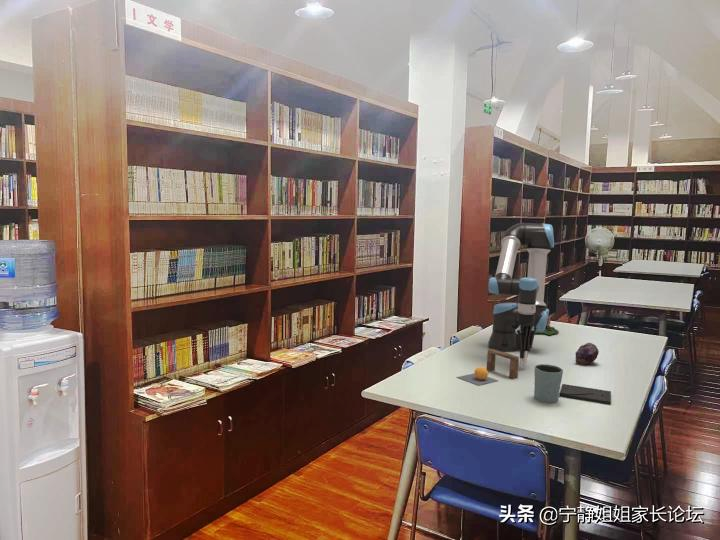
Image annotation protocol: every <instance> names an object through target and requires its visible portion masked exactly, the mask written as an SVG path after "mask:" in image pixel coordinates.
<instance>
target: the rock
mask: <svg viewBox="0 0 720 540" xmlns="http://www.w3.org/2000/svg"><path fill="white" fill-rule="evenodd" d="M599 352H600V351H599V349H598V347H597V346H596V344H594V343H593V342H586V343H585V344H582V345H580V346H579V347H578V349H577V350H576V352H575V364H578V365H581V366H585V365H592V364H593V363H594V362H595V361H596V359H598V356H599Z"/></svg>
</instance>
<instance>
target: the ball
mask: <svg viewBox="0 0 720 540" xmlns="http://www.w3.org/2000/svg"><path fill="white" fill-rule="evenodd" d="M473 374H475V377H476V378H477V379H479V380H484V379H486V378H487V377H489V372H488V370H487V367H484V366H478V367H476V369H474V373H473Z"/></svg>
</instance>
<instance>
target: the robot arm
mask: <svg viewBox="0 0 720 540" xmlns="http://www.w3.org/2000/svg"><path fill="white" fill-rule="evenodd" d="M500 241H501V242H500V245H501V250H500V254H499V259H498V262H497V268H496V271H495V276H494V277H493V276H492V277H490V278H489V279H488V292H489V293H490V294H495V295H506V296H508V295H510V296H516V297H517V296H518V300H517V302H501V303H497V304H495V305H494V306H493V312H492V314H493V317H492V330H491V335H490V337H489V341H488V342H487V343H488V344H487V347H488V348H489V349H495V350H498V351H502V352H517V351H519V365H521V366H524V367H526V366H527V365H528V357H529V352H530V351H531V350H532V349H533V344H534V339H535V335H536V334H535V332H536V331H540V332H542V331H544V330H545V327H546V324H547V319H548V318H549V313H550V309H549V308H547V304H545V303H546V302H544V301H545V300H544V296H545V295H544V294H545V288H546V286H545V284H546V273H547V260H548V254H549V253H550V252H551V251H552V250H551V248H554V247H555V238H554V228H553V225H552V224H549V223H533V222H532V223H531V222H530V223H529V222H519V223H517V224H516V223H515V224H513V225H512V226H511V227H509V228H508V229H507V230H506V231H505V232H504V233H503V235H502V237H501V239H500ZM521 246H522V247H526V250H527V252H528V265H527V277H521V278H519V279H518V278H513V273H514V269H515V263H516V260H517V259H516V258H517V254H518V250H519V249H520V248H521Z"/></svg>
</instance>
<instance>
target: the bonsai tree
mask: <svg viewBox="0 0 720 540" xmlns="http://www.w3.org/2000/svg"><path fill="white" fill-rule="evenodd" d="M555 294H556V293H555V291H554V290H547V294H546V295H545V293H544V301H545V302H544V303H545V304H546V305H550V304H551V303H552V301H551V300H547V299H549V297H550V298H551V299H553V298H554V297H555V296H556V295H555ZM546 301H548V302H546ZM552 319H553V317H552V316H551V317H550V316H548V319H547V324H546V327H545V330H544V331H542V332H540V331H536V332H535V335H536V334H537V335H538V334H544V335H546V336H553V335H554V334H555V335H557V334H559V330H558V329H556V328H555V327H554V326H553V327H552V326H551V320H552Z"/></svg>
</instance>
